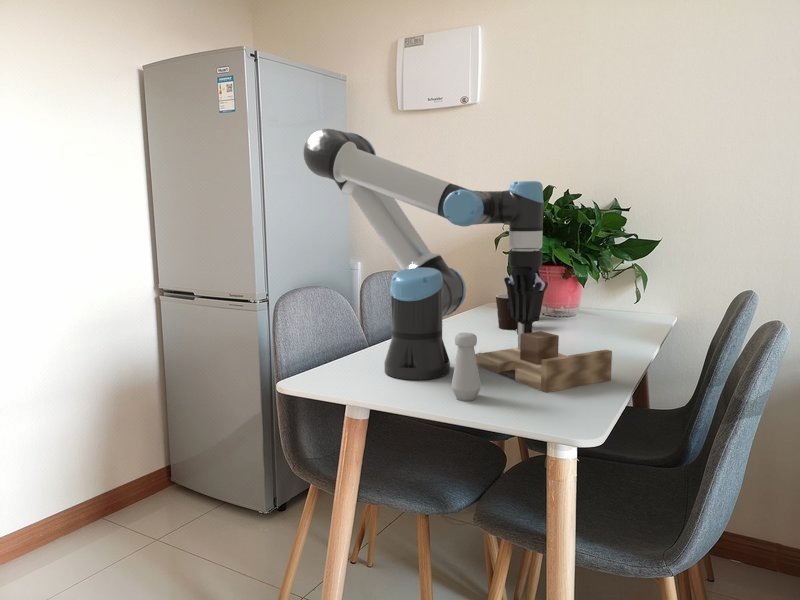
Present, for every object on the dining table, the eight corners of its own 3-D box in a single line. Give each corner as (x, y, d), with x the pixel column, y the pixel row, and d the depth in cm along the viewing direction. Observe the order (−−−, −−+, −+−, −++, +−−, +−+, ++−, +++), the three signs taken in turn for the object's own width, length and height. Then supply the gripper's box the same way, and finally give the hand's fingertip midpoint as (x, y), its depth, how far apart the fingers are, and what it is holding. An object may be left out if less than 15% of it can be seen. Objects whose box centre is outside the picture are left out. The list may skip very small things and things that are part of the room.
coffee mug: (504, 324, 196) (504, 293, 194) (528, 327, 190) (529, 295, 189) (484, 330, 187) (485, 297, 185) (509, 333, 181) (510, 300, 180)
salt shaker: (469, 391, 125) (470, 329, 123) (486, 399, 120) (487, 334, 118) (445, 396, 122) (445, 332, 120) (461, 404, 117) (461, 337, 115)
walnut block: (537, 364, 135) (537, 338, 134) (520, 359, 140) (520, 333, 139) (558, 361, 138) (558, 335, 137) (540, 356, 143) (540, 331, 142)
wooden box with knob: (545, 392, 123) (546, 361, 122) (473, 364, 146) (474, 337, 145) (610, 380, 131) (612, 350, 130) (533, 355, 154) (533, 330, 153)
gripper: (557, 250, 136) (555, 353, 139) (520, 247, 147) (519, 342, 151) (531, 252, 132) (529, 357, 136) (495, 248, 144) (494, 346, 147)
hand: (524, 349), depth 143 cm, fingers closed
